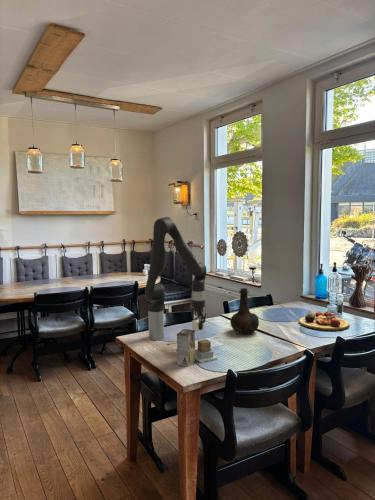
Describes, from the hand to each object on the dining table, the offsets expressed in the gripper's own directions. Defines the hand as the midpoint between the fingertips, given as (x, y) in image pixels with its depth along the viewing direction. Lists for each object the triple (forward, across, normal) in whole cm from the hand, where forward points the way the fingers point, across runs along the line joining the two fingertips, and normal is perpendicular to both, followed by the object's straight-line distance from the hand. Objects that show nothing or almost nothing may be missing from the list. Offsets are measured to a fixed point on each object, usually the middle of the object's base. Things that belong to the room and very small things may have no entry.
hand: (198, 327), depth 213 cm
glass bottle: (+12, -10, +39) cm, 42 cm away
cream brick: (+1, 0, 0) cm, 1 cm away
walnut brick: (+7, +16, -5) cm, 18 cm away
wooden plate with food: (+12, +1, +95) cm, 96 cm away
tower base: (+11, +16, -5) cm, 20 cm away
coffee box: (+11, +17, -16) cm, 26 cm away
